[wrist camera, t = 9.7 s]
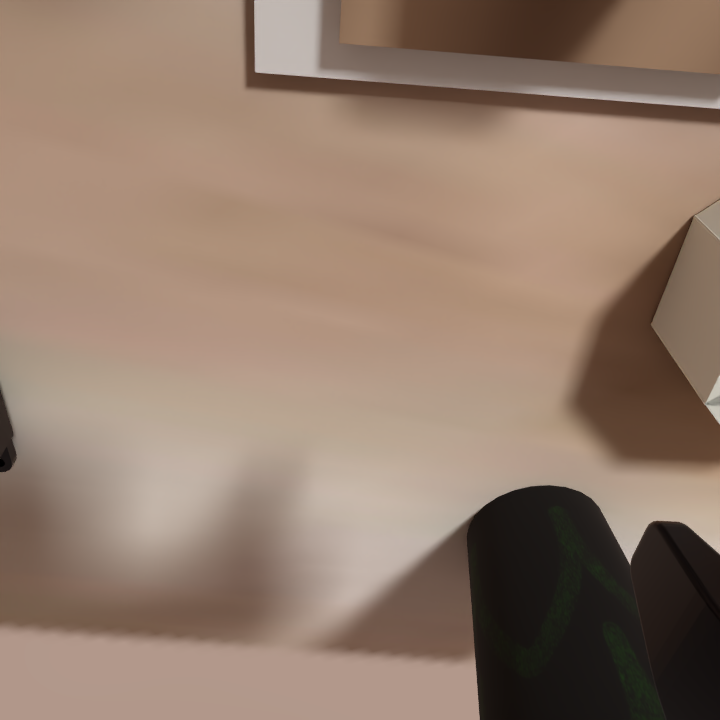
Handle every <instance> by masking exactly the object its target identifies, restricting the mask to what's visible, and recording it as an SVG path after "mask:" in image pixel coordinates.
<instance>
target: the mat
mask: <svg viewBox="0 0 720 720" xmlns="http://www.w3.org/2000/svg"><path fill="white" fill-rule="evenodd" d="M340 15H341V0H254V25H255V72H256V73H269V74H282V75H294V76H307V77H320V78H333V79H345V80H358V81H371V82H384V83H397V84H409V85H422V86H435V87H448V88H460V89H473V90H486V91H499V92H511V93H524V94H537V95H550V96H562V97H575V98H588V99H601V100H614V101H626V102H639V103H652V104H665V105H677V106H690V107H703V108H716V109H720V74H709V73H697V72H684V71H672V70H660V69H648V68H635V67H623V66H611V65H599V64H586V63H574V62H562V61H550V60H537V59H525V58H513V57H501V56H488V55H476V54H464V53H451V52H439V51H427V50H415V49H402V48H390V47H378V46H366V45H353V44H341V43H339V33H340Z"/></svg>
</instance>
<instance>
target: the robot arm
mask: <svg viewBox="0 0 720 720" xmlns="http://www.w3.org/2000/svg"><path fill="white" fill-rule="evenodd" d="M12 436H13V431H12V428H11V425H10V421H9V418H8V415H7V411H6V408H5V405H4V402H3V398H2V395H1V392H0V458H1V459H0V472H6V471H8V470H10V469H11V467H12V466H13V464H14V462H15V460H16V452H15V449H14V446H13V442H12V439H11V438H12ZM630 572H631V579H632V583H633V588H634V593H635V597H636V602H637V607H638V611H639V616H640V621H641V625H642V630H643V635H644V639H645V644H646V649H647V653H648V658H649V663H650V667H651V671H652V675H653V680H654V684H655V687H656V690H657V694H658V697H659V700H660V703H661V707H662V710H663V713H664V716H665V719H666V720H720V554H719V553H717V552H716V551H715V550H714V549H713V548H712V547H711V546H710V545H708V544H707V543H706V542H705V541H704V540H703V539H702V538H701V537H699V536H698V535H697V534H696V533H695V532H694V531H693V530H691V529H690V528H689V527H688V526H686V525H685V524H683V523H680V522H671V521H653V522H652V523H650V524H649V525H648V527H647V528H646V530H645V532H644V534H643V536H642V538H641V540H640V542H639V544H638V546H637V548H636V550H635V552H634V554H633V556H632V559H631V565H630Z"/></svg>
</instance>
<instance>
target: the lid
mask: <svg viewBox="0 0 720 720" xmlns="http://www.w3.org/2000/svg"><path fill="white" fill-rule="evenodd" d="M339 43H341V44H353V45H366V46H378V47H390V48H402V49H415V50H427V51H439V52H451V53H464V54H476V55H488V56H501V57H513V58H525V59H537V60H550V61H562V62H574V63H586V64H599V65H611V66H623V67H635V68H648V69H660V70H672V71H684V72H697V73H709V74H720V0H341V15H340V33H339Z"/></svg>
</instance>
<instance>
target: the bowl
mask: <svg viewBox="0 0 720 720" xmlns="http://www.w3.org/2000/svg"><path fill="white" fill-rule="evenodd" d="M651 326H652V328H653V329H654V331H655V332H656V334H657V335H658V337H659V338H660V340H661V341H662V343H663V344H664V346H665V347H666V349H667V350H668V352H669V353H670V355H671V356H672V357H673V359H674V360H675V362H676V363H677V365H678V366H679V368H680V369H681V371H682V372H683V374H684V375H685V377H686V378H687V380H688V381H689V383H690V384H691V386H692V387H693V389H694V390H695V392H696V393H697V395H698V396H699V398H700V399H701V401H702V402H703V404H704V405H706V406H707V407H708V409H709V410H710V412H711V413H712V414H713V416H714V417H715V419H716V420H717V421H718V423H719V424H720V200H718V201H717V202H715V203H714V204H712V205H711V206H709V207H708V208H706V209H704V210H703V211H701V212H700V213H698V214H697V215H694V217H693V220H692V223H691V225H690V228H689V230H688V233H687V235H686V238H685V240H684V243H683V245H682V248H681V250H680V253H679V255H678V258H677V260H676V263H675V265H674V268H673V271H672V273H671V276H670V278H669V281H668V283H667V286H666V288H665V291H664V293H663V296H662V298H661V301H660V303H659V306H658V308H657V311H656V313H655V316H654V318H653V321H652V323H651Z"/></svg>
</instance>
